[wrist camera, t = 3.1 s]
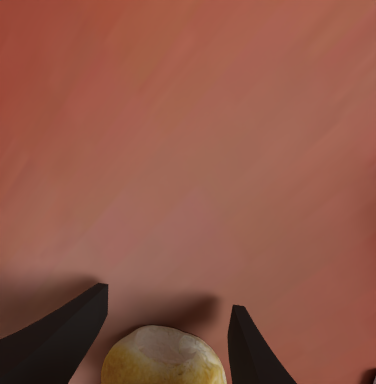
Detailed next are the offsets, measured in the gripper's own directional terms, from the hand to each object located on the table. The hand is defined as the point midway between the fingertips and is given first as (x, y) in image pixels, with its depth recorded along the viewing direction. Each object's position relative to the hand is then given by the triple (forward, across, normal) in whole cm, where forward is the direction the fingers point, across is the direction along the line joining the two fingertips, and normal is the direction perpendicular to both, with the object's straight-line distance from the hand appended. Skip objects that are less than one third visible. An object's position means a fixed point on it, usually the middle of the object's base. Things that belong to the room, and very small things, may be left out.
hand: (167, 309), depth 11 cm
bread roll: (+2, 0, +7) cm, 7 cm away
